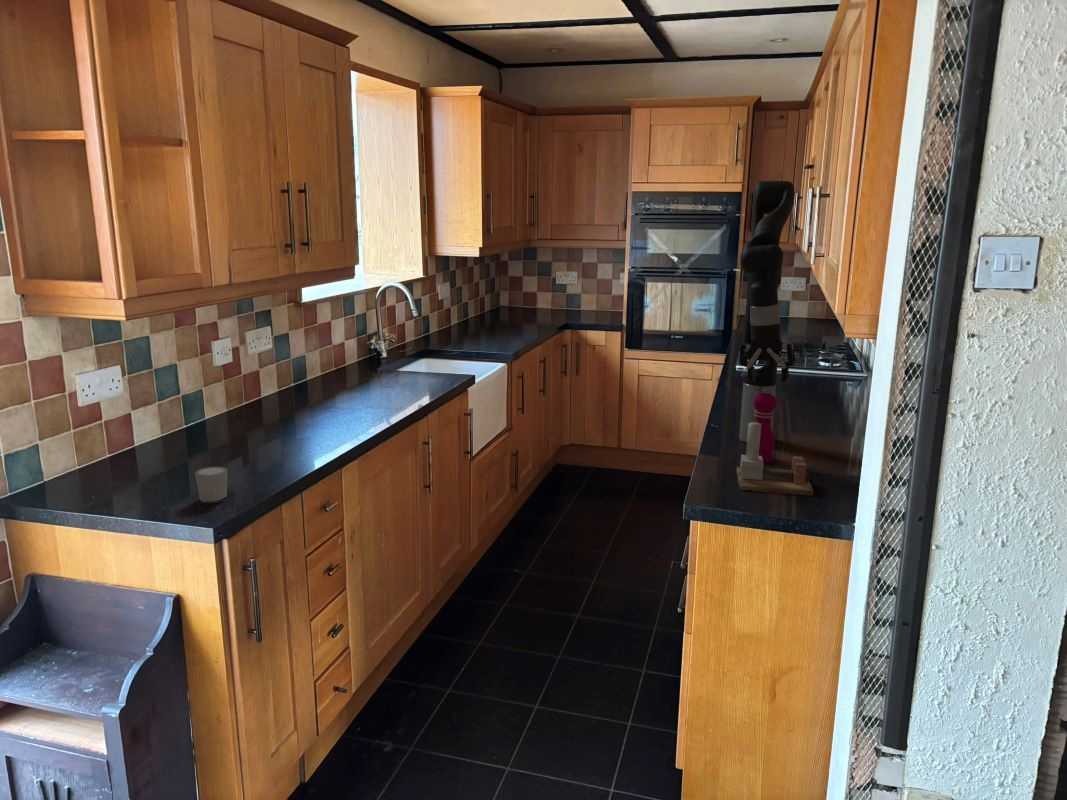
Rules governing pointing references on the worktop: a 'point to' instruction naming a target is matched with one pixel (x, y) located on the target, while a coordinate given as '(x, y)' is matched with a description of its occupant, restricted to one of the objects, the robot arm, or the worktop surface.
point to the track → (780, 480)
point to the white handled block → (752, 454)
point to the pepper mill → (765, 422)
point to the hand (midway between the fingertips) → (768, 381)
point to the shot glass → (211, 483)
